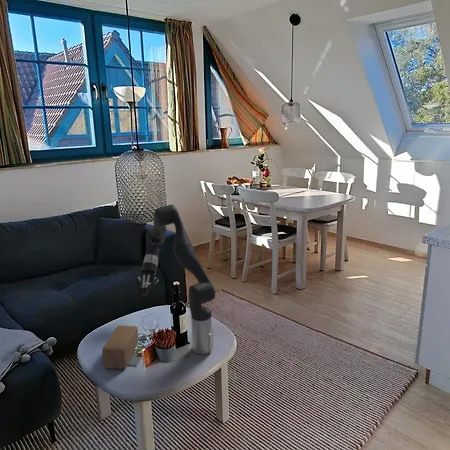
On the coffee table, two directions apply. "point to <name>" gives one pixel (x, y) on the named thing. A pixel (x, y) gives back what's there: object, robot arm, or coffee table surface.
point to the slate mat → (133, 361)
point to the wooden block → (120, 347)
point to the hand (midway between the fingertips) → (143, 295)
